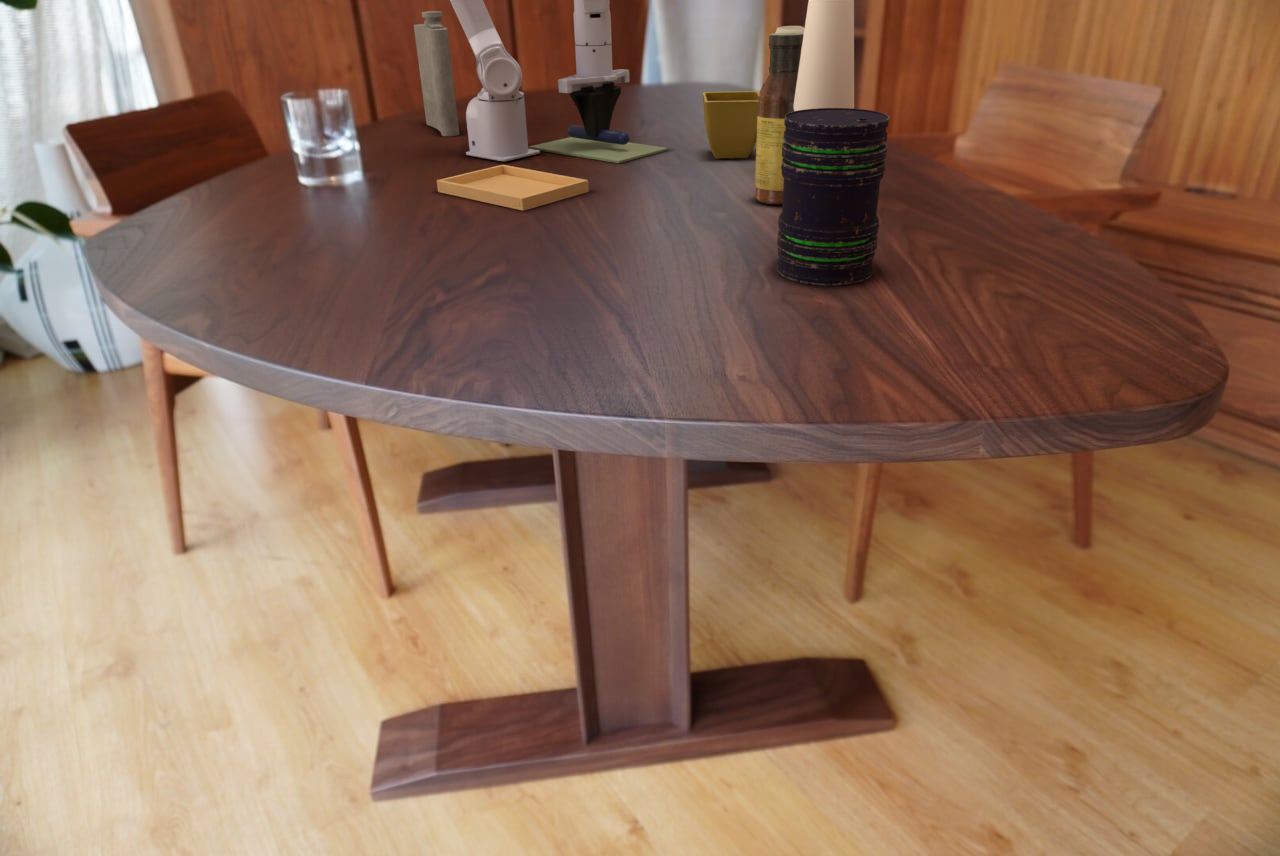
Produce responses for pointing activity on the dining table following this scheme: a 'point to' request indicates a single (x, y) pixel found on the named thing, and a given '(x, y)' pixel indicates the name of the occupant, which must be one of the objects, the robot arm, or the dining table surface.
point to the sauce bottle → (775, 114)
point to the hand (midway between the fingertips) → (597, 134)
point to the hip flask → (436, 74)
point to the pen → (599, 135)
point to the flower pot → (731, 122)
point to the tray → (513, 187)
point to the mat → (599, 149)
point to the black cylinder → (831, 194)
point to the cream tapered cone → (827, 57)
